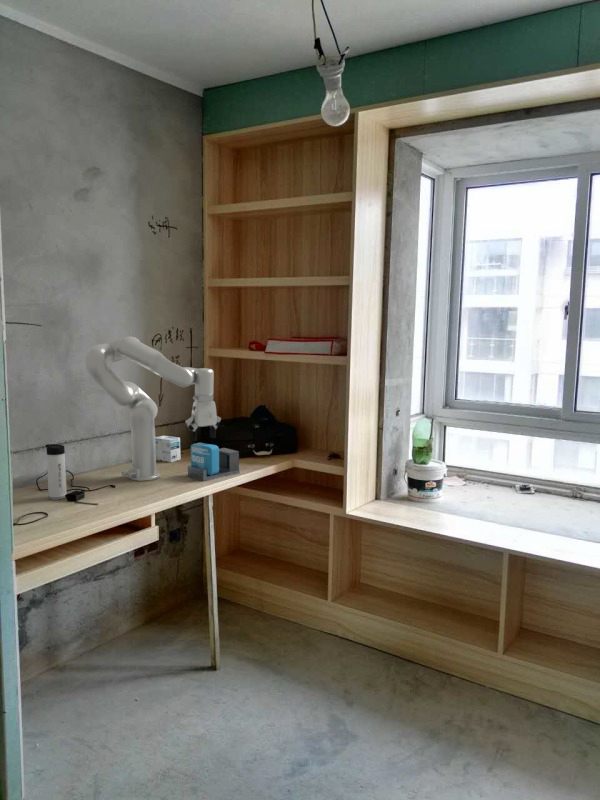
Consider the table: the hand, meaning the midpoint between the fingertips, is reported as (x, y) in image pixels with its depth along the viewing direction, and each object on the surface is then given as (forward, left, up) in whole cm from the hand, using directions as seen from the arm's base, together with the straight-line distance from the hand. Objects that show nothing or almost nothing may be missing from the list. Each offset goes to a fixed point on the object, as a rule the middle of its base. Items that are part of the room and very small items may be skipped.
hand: (203, 439), depth 263 cm
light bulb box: (+7, +37, -16) cm, 41 cm away
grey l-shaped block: (+5, 0, -16) cm, 17 cm away
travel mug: (-57, +12, -16) cm, 61 cm away
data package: (0, 0, -15) cm, 15 cm away
